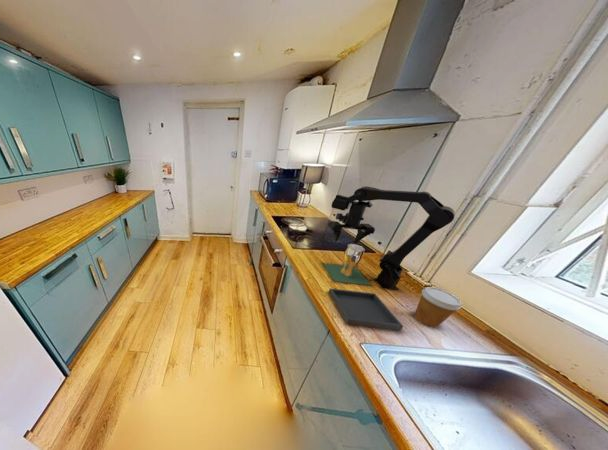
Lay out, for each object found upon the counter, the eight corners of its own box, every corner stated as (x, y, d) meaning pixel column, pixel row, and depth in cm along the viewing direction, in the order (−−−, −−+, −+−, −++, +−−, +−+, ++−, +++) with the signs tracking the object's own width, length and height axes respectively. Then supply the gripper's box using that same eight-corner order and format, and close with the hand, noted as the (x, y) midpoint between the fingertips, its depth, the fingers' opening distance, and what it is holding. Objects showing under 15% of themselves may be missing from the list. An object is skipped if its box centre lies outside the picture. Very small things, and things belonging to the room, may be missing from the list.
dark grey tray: (372, 297, 83) (374, 293, 82) (400, 331, 68) (403, 326, 67) (328, 292, 85) (329, 288, 84) (346, 324, 71) (348, 319, 69)
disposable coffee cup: (449, 336, 67) (469, 311, 62) (412, 323, 72) (428, 298, 67) (438, 316, 74) (456, 292, 70) (405, 306, 79) (419, 282, 74)
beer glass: (357, 279, 93) (368, 252, 87) (340, 276, 94) (351, 250, 88) (350, 270, 99) (360, 244, 93) (335, 268, 100) (344, 242, 94)
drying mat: (355, 267, 102) (355, 266, 102) (371, 285, 89) (371, 285, 89) (322, 264, 104) (322, 263, 104) (334, 281, 91) (334, 281, 91)
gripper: (366, 209, 99) (356, 236, 105) (327, 206, 101) (319, 233, 107) (381, 217, 89) (368, 247, 95) (337, 214, 91) (328, 243, 97)
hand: (345, 242), depth 99 cm, fingers open, 9 cm apart
